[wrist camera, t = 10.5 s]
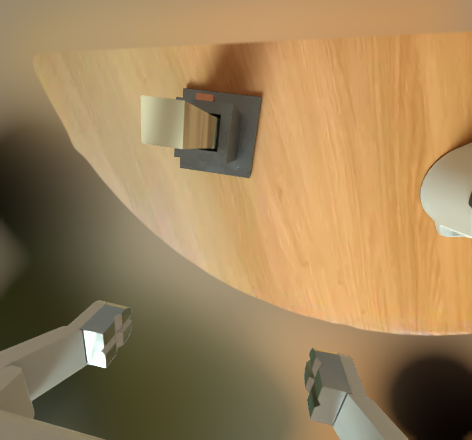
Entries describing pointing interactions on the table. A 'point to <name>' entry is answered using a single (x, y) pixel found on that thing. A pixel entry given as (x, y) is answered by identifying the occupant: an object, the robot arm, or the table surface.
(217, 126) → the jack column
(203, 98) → the jack sleeve
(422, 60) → the table surface
